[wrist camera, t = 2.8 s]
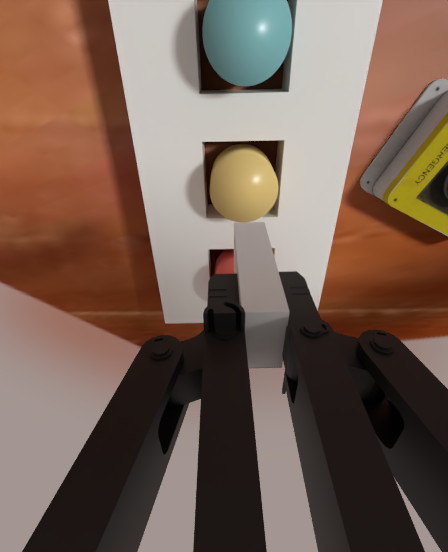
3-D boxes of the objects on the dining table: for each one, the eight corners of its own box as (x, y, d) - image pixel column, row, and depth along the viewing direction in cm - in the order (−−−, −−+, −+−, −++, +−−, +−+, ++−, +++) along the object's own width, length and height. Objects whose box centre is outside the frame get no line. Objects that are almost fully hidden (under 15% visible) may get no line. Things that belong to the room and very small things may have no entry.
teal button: (285, -16, 19) (297, -29, 16) (278, 82, 21) (287, 85, 19) (203, -14, 19) (199, -27, 16) (207, 83, 21) (204, 87, 19)
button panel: (382, -95, 18) (407, -120, 15) (309, 302, 35) (315, 321, 33) (106, -88, 18) (88, -112, 15) (169, 305, 35) (165, 323, 33)
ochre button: (274, 143, 24) (281, 154, 21) (270, 204, 27) (275, 221, 24) (209, 144, 24) (208, 155, 21) (212, 205, 27) (211, 223, 24)
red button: (266, 244, 29) (271, 265, 26) (263, 287, 32) (268, 309, 29) (214, 245, 29) (213, 266, 26) (215, 287, 32) (215, 310, 29)
